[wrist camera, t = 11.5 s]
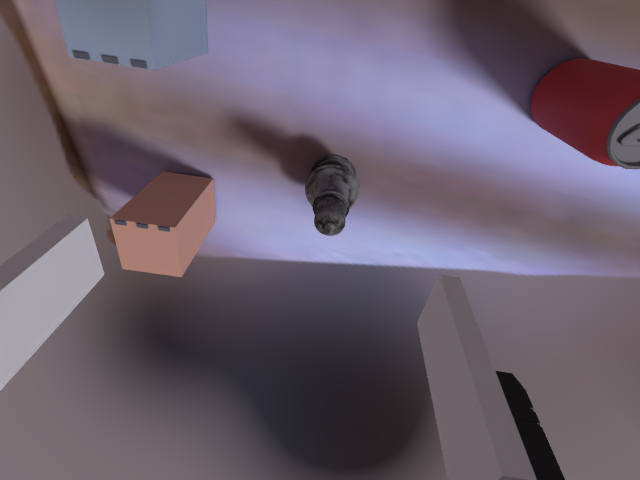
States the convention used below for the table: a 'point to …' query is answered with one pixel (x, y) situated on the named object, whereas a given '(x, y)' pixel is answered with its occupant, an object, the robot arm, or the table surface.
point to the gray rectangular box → (134, 31)
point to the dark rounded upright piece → (332, 192)
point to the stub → (165, 224)
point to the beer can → (592, 110)
